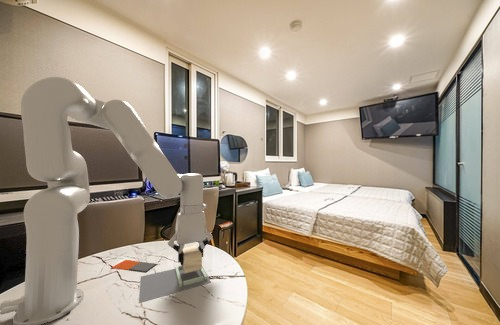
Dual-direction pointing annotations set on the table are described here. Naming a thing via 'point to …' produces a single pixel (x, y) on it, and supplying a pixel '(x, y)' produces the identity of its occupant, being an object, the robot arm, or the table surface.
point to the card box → (192, 259)
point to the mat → (170, 282)
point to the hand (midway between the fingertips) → (190, 260)
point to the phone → (134, 266)
